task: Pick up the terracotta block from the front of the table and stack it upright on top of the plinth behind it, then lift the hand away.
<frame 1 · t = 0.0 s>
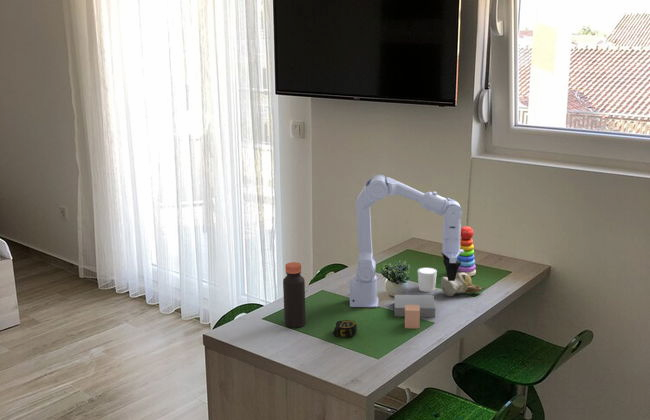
hand: (450, 276, 231), 10 cm above the counter, fingers open, 7 cm apart
ceramic sculpture: (458, 293, 244), on the counter
stacking toy: (465, 274, 261), on the counter
tape measure: (343, 335, 213), on the counter
terracotta block: (412, 325, 218), on the counter
plinth: (414, 309, 230), on the counter
bottle: (295, 324, 221), on the counter
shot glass: (426, 289, 248), on the counter
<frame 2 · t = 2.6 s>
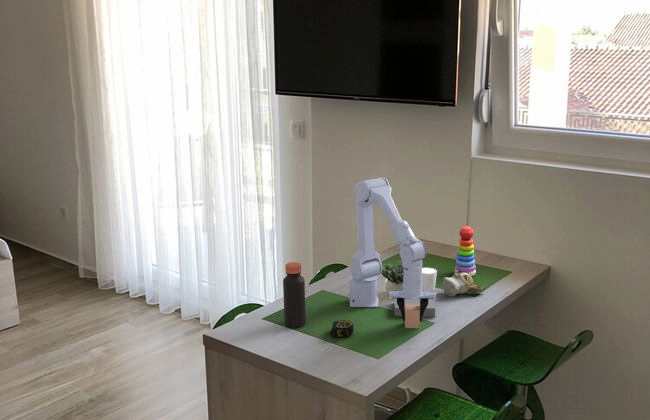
hand: (412, 320, 218), 2 cm above the counter, fingers closed on terracotta block, 4 cm apart
terracotta block: (412, 325, 218), on the counter, touching gripper
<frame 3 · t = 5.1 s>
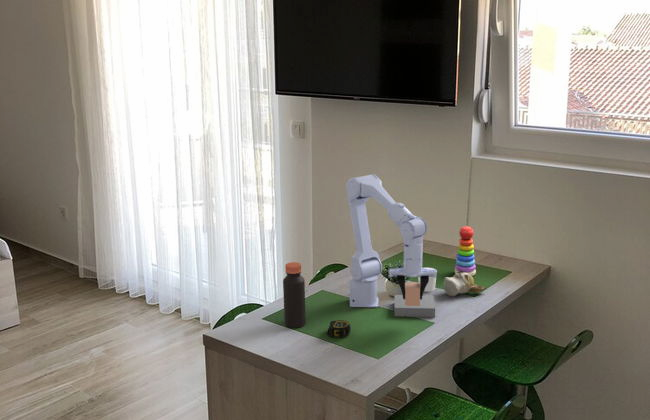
hand: (412, 298, 217), 9 cm above the counter, fingers closed on terracotta block, 4 cm apart
terracotta block: (412, 303, 217), point 7 cm above the counter, touching gripper
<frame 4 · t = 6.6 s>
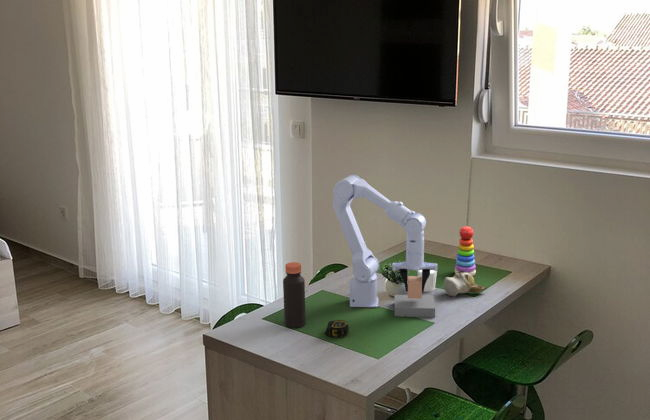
hand: (414, 290, 228), 7 cm above the counter, fingers closed on terracotta block, 4 cm apart
terracotta block: (414, 295, 228), point 5 cm above the counter, touching gripper
when the fingers open (6 cm above the counter, at t = 7.9 s): terracotta block drops 1 cm, resting on plinth.
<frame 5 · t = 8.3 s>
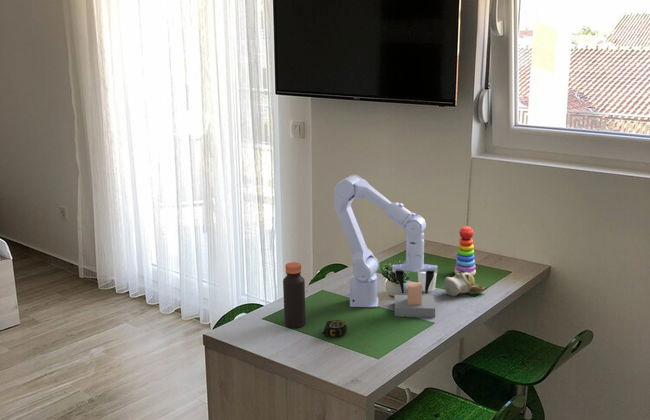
hand: (414, 292, 228), 6 cm above the counter, fingers open, 7 cm apart
terracotta block: (414, 301, 229), point 3 cm above the counter, touching plinth
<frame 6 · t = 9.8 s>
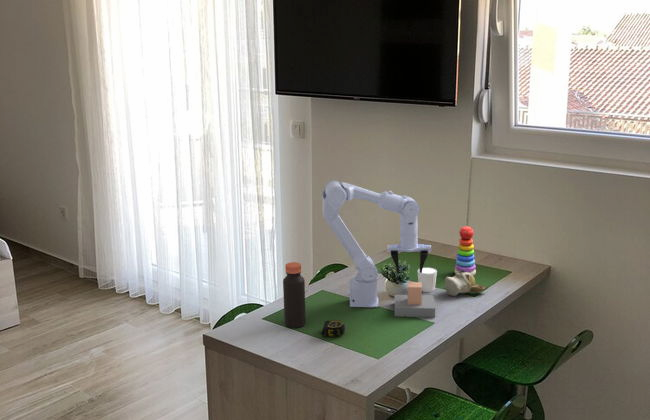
hand: (409, 271, 235), 10 cm above the counter, fingers open, 7 cm apart
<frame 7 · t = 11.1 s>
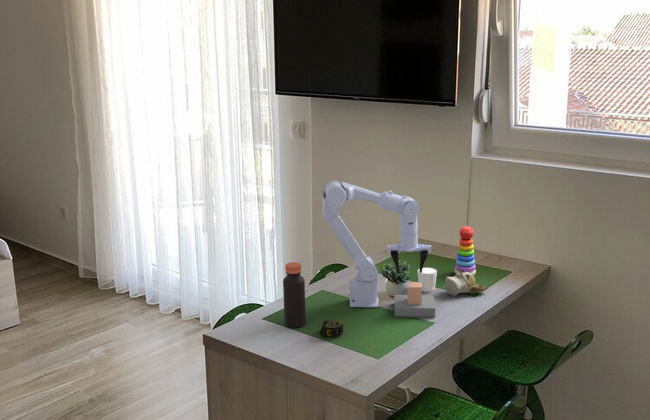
hand: (409, 271, 235), 10 cm above the counter, fingers open, 7 cm apart
at the end: terracotta block inside the target area on the plinth (0.2 cm from its centre), point 3.0 cm above the plinth's base; terracotta block tilted 0°; the gripper is holding nothing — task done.
